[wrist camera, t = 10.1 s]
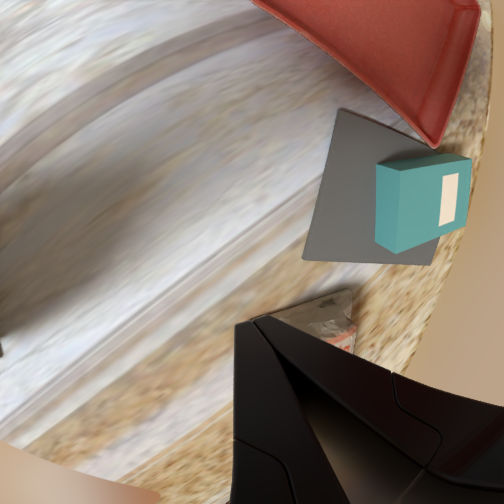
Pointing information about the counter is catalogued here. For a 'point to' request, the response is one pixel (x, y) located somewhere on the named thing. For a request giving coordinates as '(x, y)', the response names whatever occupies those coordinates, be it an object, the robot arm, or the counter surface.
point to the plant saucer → (394, 49)
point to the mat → (359, 195)
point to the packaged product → (325, 319)
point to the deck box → (420, 199)
